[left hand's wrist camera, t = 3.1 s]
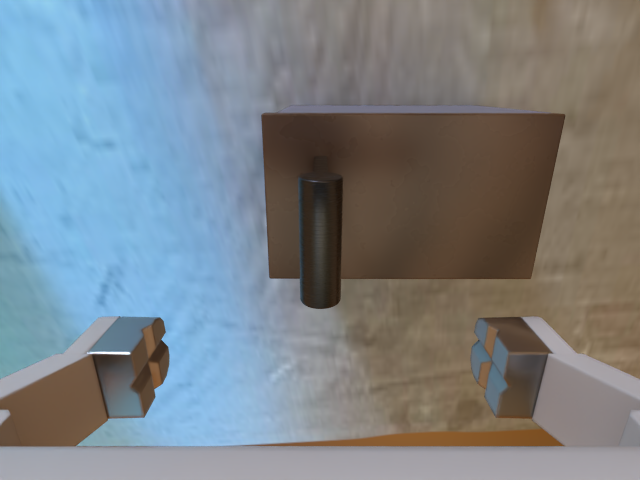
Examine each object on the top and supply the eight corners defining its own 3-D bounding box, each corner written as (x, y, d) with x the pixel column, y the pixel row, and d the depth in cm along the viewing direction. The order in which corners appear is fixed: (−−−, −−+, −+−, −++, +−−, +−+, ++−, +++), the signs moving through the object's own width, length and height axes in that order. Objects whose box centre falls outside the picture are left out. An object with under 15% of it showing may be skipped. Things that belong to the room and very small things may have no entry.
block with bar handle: (271, 270, 26) (250, 349, 18) (264, 112, 22) (233, 124, 15) (522, 271, 26) (609, 349, 18) (554, 112, 22) (679, 125, 15)
